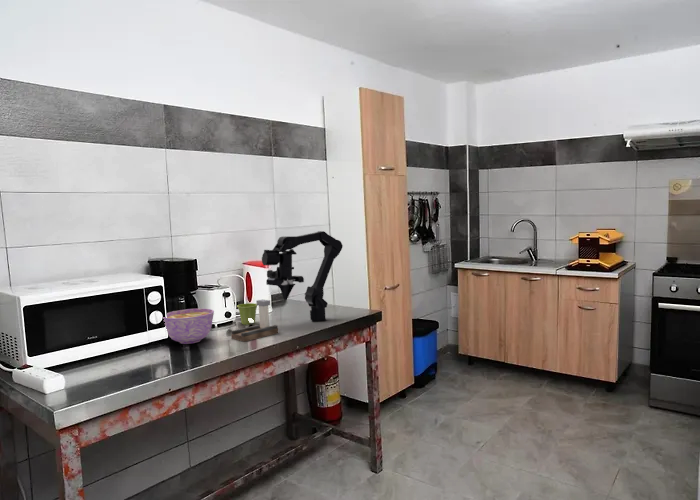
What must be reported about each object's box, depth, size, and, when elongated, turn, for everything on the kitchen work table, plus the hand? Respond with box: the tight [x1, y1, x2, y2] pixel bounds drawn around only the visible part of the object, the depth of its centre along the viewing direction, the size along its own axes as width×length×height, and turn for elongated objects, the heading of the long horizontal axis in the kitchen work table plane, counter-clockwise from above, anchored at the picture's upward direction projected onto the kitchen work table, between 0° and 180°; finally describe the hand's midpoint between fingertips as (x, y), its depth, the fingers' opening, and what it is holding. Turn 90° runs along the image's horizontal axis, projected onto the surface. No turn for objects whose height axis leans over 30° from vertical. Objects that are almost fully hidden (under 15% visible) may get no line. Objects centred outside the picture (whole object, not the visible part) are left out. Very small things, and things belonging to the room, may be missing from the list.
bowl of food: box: [162, 308, 215, 345], centre depth 205 cm, size 20×20×12 cm
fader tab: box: [255, 299, 271, 328], centre depth 213 cm, size 3×5×12 cm, turn 46°
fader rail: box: [230, 324, 279, 342], centre depth 209 cm, size 17×9×3 cm, turn 136°
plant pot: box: [236, 302, 258, 326], centre depth 235 cm, size 9×9×9 cm
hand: (285, 299), depth 225 cm, fingers closed
